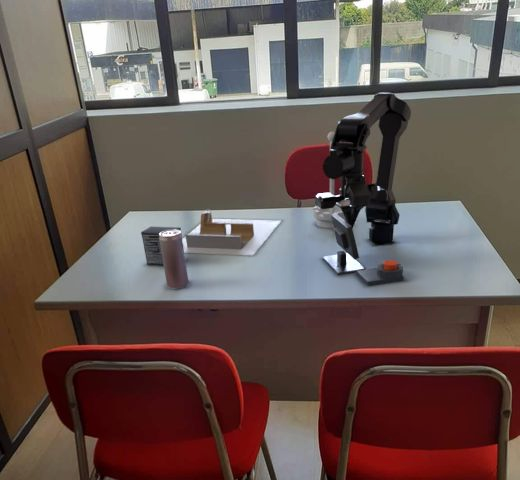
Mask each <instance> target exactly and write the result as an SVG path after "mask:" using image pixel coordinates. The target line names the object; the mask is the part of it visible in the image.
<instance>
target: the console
mask: <svg viewBox="0 0 520 480" xmlns="http://www.w3.org/2000/svg"><path fill="white" fill-rule="evenodd" d="M383 266H384V262H383V263H380V264H378V266H377V267H374V268H365V270H359V271H357V272H356V275H355V276H357V277H358V278H359V279H360V280H361V281H362V282H363V283H364V284H365V285H366V286H367V287H371V286H377V285H383V284H391V283H396V282H402V281H404V278H405V277H404V274H403V273H404V266H403V265H402V264H401V263H398V266H397V269H396V270H385V269H383Z"/></svg>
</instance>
